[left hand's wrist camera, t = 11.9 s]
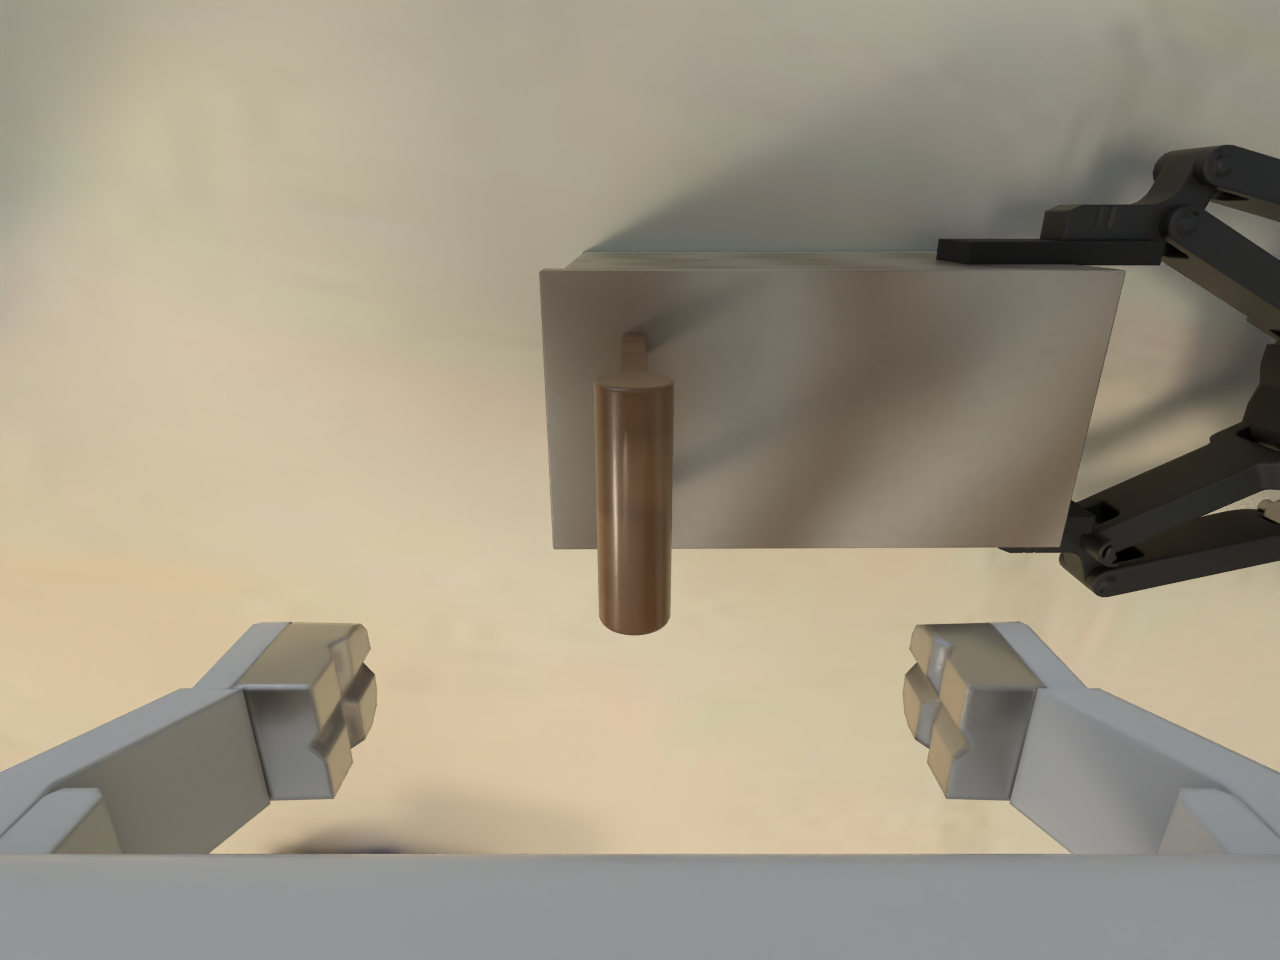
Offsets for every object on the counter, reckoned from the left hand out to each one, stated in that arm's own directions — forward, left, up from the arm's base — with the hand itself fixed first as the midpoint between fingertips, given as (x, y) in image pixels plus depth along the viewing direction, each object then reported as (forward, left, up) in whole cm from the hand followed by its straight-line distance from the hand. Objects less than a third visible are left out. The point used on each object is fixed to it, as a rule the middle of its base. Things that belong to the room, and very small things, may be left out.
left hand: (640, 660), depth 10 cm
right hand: (+5, -10, -17) cm, 20 cm away
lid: (+3, -5, -14) cm, 15 cm away
